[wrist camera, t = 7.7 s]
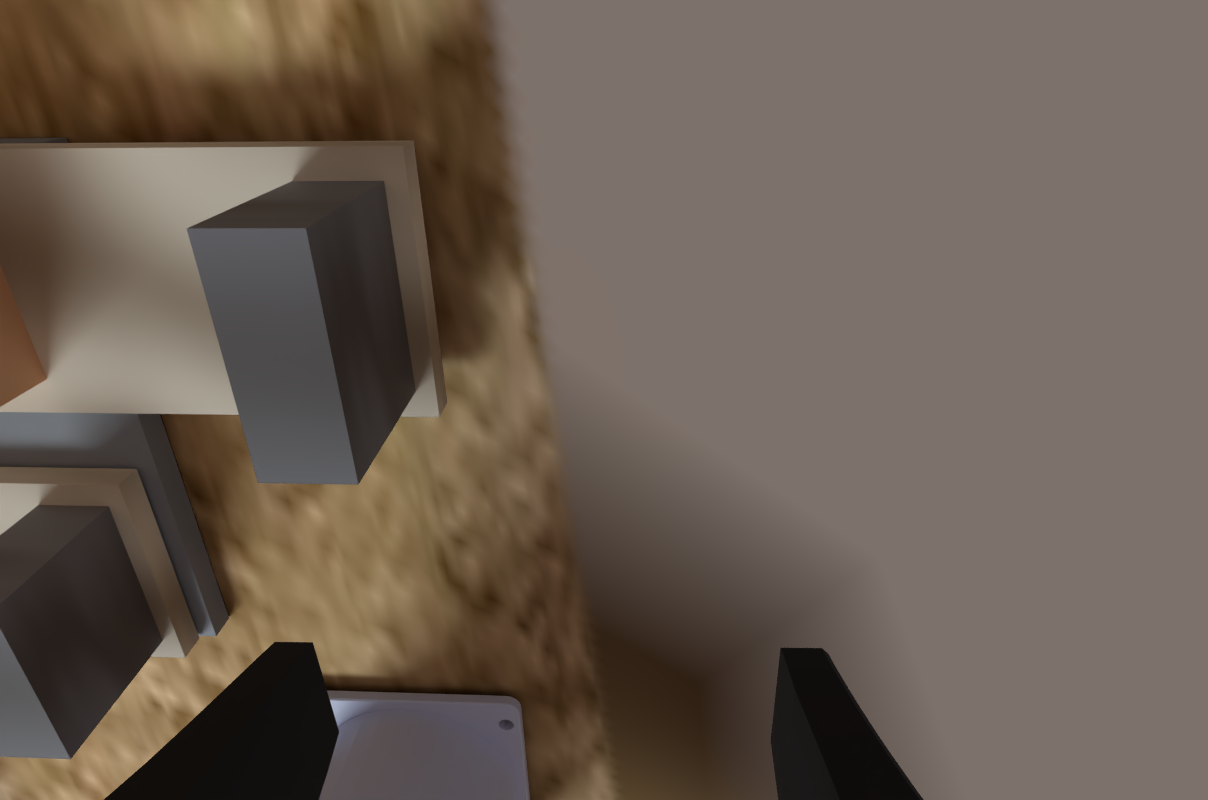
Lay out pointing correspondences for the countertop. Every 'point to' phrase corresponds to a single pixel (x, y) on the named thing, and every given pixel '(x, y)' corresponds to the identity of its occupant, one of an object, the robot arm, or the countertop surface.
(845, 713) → the robot arm
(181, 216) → the near strip
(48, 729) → the far strip
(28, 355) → the block
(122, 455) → the lane board
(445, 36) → the countertop surface
